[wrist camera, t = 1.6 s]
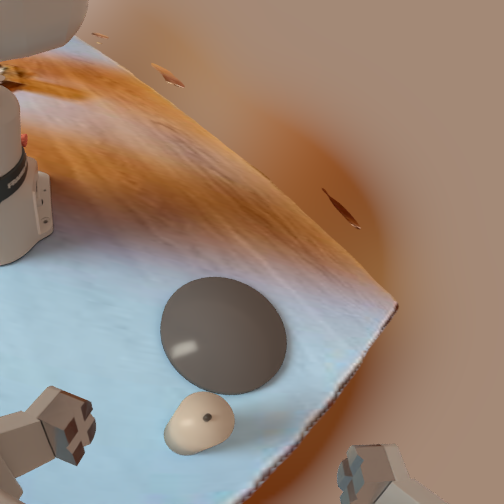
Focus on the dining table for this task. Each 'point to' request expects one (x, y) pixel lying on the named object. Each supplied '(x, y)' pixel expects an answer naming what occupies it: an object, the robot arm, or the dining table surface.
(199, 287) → the plate
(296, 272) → the dining table surface
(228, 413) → the candle
